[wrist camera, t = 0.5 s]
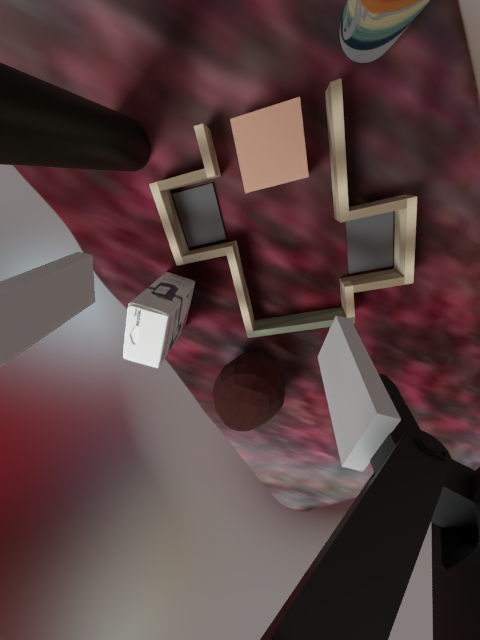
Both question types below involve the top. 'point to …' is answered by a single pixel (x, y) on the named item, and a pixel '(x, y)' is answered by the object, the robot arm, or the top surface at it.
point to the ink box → (157, 319)
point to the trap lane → (361, 220)
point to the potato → (248, 391)
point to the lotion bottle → (375, 26)
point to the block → (271, 145)
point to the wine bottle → (64, 128)
